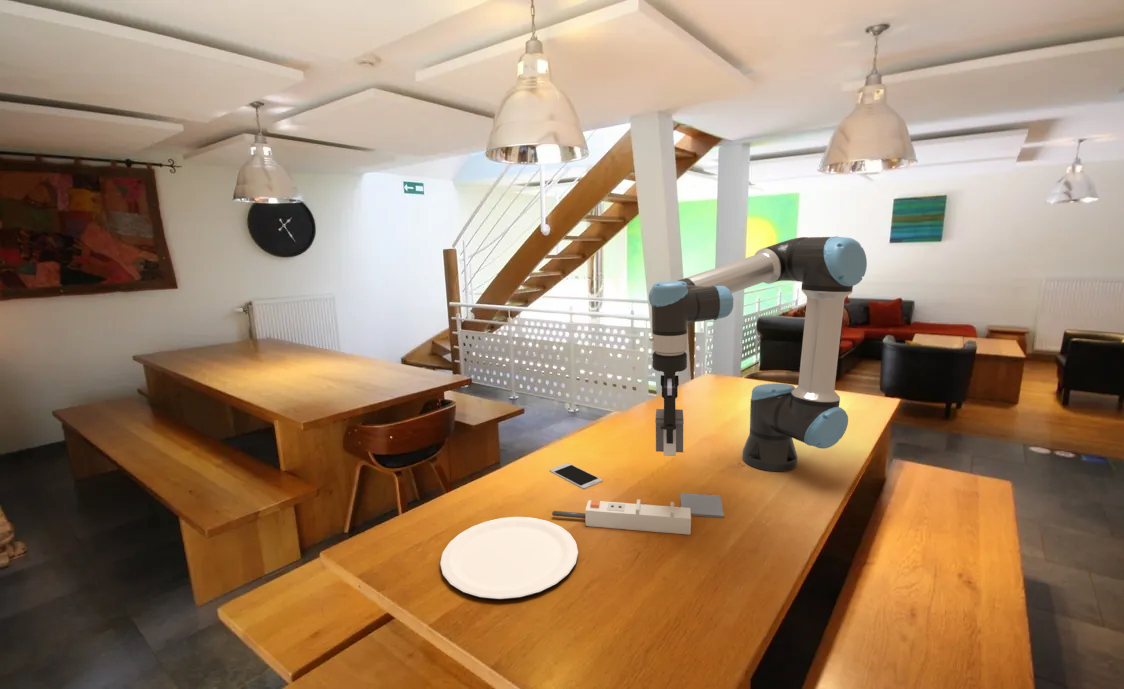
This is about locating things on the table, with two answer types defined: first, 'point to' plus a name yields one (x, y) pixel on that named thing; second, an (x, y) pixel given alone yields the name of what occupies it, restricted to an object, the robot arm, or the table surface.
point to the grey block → (659, 431)
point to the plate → (509, 558)
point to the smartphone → (576, 476)
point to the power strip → (634, 516)
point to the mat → (702, 505)
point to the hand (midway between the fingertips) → (669, 449)
